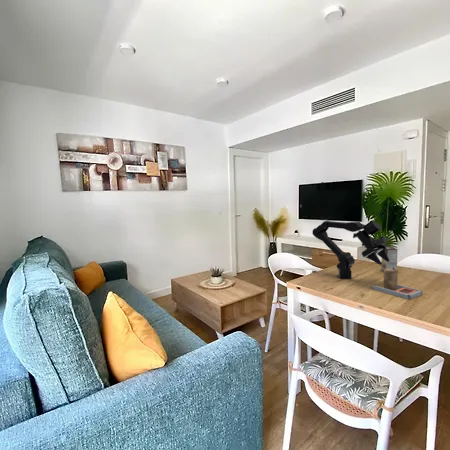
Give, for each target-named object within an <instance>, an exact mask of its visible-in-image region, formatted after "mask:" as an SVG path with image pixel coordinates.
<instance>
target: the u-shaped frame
mask: <svg viewBox="0 0 450 450" xmlns="http://www.w3.org/2000/svg"><path fill="white" fill-rule="evenodd" d="M404 287H405V288H409V289H412V290H416V292H414V293H412V294H409V295H408V294H404V293H400V292H397V291H393V290H389V289H386V288H384V287H381V286H378V285H374V284H373V285H372V290H373V291H378V292H381V293H384V294H388V295H391V296H395V297H398V298H402V299H406V300H409V301H411V300H413V299H416V298H417V297H419V296H423V290H421V289H417V288H414V287H411V286H410V287H409V286H406V285H401V284H398V283H397V290H399V289H401V288H404Z"/></svg>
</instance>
